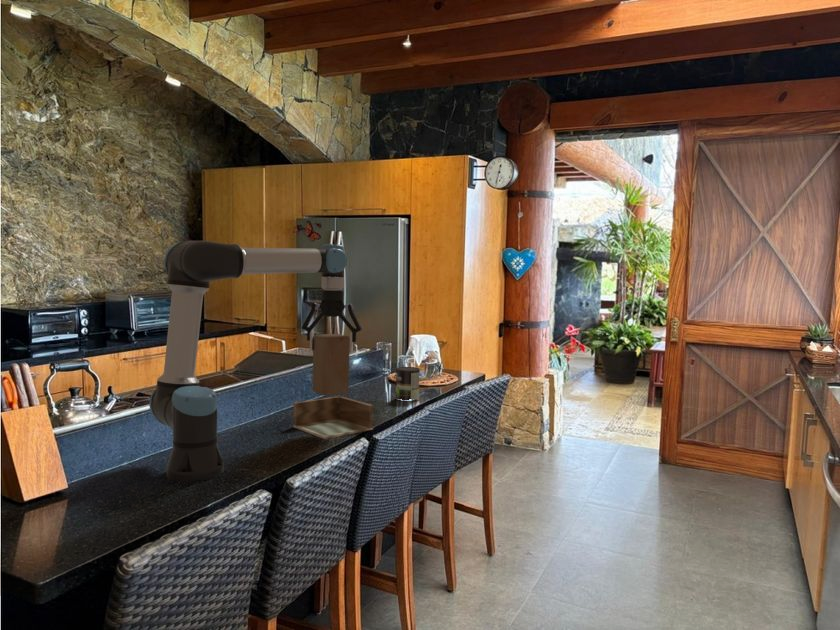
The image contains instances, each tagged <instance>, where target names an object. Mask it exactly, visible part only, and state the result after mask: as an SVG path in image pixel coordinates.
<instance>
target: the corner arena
mask: <svg viewBox="0 0 840 630" xmlns="http://www.w3.org/2000/svg"><path fill="white" fill-rule="evenodd" d="M293 428H295V429H297V430H300V431H302V432H305V433H307V434H310V435H313V436H315V437H318V438H320V439H323V440H330V439H333V438H338V437H343V436H349V435H353V434H358V433H363V432H367V431H372V430H374V405H373V404H372V403H371V404H370V403H367V402H363V401H359V400H356V399H353V398H350V397H346V396H343V395H342V396H341V395H335V396H330V397H323V398H318V399H309V400H301V401H297V402H293Z"/></svg>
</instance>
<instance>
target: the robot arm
mask: <svg viewBox="0 0 840 630" xmlns="http://www.w3.org/2000/svg"><path fill="white" fill-rule="evenodd" d="M344 247H345V246H344V245H342V244H333V243H325V244H323V245H322V247H321V248H313V247H312V248H305V247H304V248H303V247H300V248H299V247H297V248H296V247H291V248H289V247H288V248H287V247H285V248H284V247H282V248H281V247H242V246H241V245H240V244H237V243H235V244H233V243H222V242H216V241H215V242H214V241H210V240H182V241H180V242H177V243H174V244H173V245H172V246H170V247H169V248H168V250H166V253H165V254H164V260H163V265H164V270H165V271H166V274H167V283H166V285H167V287H168V288H169V289H170V291H171V300H170V310H169V317H168V318H169V319H168V327H167V328H168V329H167V338H166V340H167V341H166V346H165V355H164V356H165V358H164V365H163V366H164V367H163V373H162V374H161V375H160V376H159V377H157V380H156V388H155V389H154V390H153V392H151V395H150V397H149V400H148V401H149V402H148V404H149V409H150V412H151V415H152V416H153V418H155V419H156V420H157V421H158V422H159V423H160V424H163V426H164V425H165V426H168V427H170V428H172V448H171V452H170V455H169V457H168V461H167V464H166V467H165V468H166V469H165V470H166V471H165V472H166V473H165V474H166V478H168V480H171V481H174V482H175V481H176V482H182V481H183V483H184V482H189V481H192V482H200V481H206V479H207V480H210V479H214V478H216V476H217V477H218V475H219V476H221V475H222V474H223V473H224V471H225V462H224V460H223V457H222V454H221V451H220V448H219V445H218V407H219V405H218V404H219V403H218V397H217V392H216V391H215V390H213V389H212V388H210V387H206V386H200V379H198V378H197V376H196V367H197V356H198V350H199V349H198V347H199V337H200V328H201V321H202V320H201V319H202V311H203V309H202V308H203V300H204V299H203V298H204V295H205V293H206V292H208V291H209V290H210V286H211V282H213V281H220V280H226V279H239V278H241V277H242V276H243V275H261V274H262V275H265V274H266V275H267V274H268V275H269V274H272V275H273V274H275V275H276V274H303V273H304V274H308V273H309V274H311V273H313V274H314V273H318V274H319V273H320V274H321V289H322V290H321V296H320V297H321V299H320V301H321V302H320V303H317V302H312V304H311V309H310V311H309V313H308V315H307V317H306V319H305V321H304V322H303V324H302V326H301V329H302V330H304V331H306V340H307V341H309V351H310V352H313V337H314V335H315V331H313V329H314V328H315V327H316V326H317V325H318V324H319V323H320V321H321V320H322V319H323V318H324V317H325V316H326V318H327V317H329V318H330V317H332V318H337V317H339V318H340V319H341V321H342V322H343V323H344V324H345V326H346V327H348V329H349V330H350V331H351V332H350V333H349V338H350V352H349V353H352V352H354V343H356V342H357V333H358V332H360V331H362V330H363V329H362V326H361V324H360V321H359V320H358V318H357V316H356V313H355V312H354V307H353V304H352V303H349V304H345V303H344V289H345V288H344V286H345V285H344V284H345V279H344V278H345V269H346V266H347V263H348V257H347V254H346V252H345V248H344ZM319 308H320V310H321V312H320V314H319V315H318V316H317V317H316V318H315V319H314V321H312V319H313V317H314V315H315V313H316V311H317V310H318V309H319ZM345 309H346V311H347V312H348V314H349V316H350V318H351V320H352V322H353V324H354V325H353V324H352V323H351V321H350V320H349V319H348V318H347V316H346V315H345V314H344V312H343V311H344V310H345ZM311 321H312V323H311ZM310 323H311V324H310ZM309 324H310V325H309ZM221 473H222V474H221ZM220 474H221V475H220ZM199 480H200V481H199Z"/></svg>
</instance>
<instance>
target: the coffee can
mask: <svg viewBox="0 0 840 630" xmlns="http://www.w3.org/2000/svg"><path fill="white" fill-rule="evenodd" d="M395 371H396V372H395V399H396V398H397V399H402V400H409V399H418V398H420V371H421V369H420V368H419V367H416V366H400V367H399V366H398V367H396V368H395Z"/></svg>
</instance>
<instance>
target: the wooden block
mask: <svg viewBox="0 0 840 630" xmlns="http://www.w3.org/2000/svg"><path fill="white" fill-rule="evenodd" d="M350 353H351V352H350V336H348V335H344V334H340V333H324V334H323V333H321V334H320V333H319V334H317V333H316V334H314V337H313V350H312V391H313V392H314V393H317V394H319V395H321V396H323V397H325V396H341V395H348V394H349V391H350V388H349V387H350Z"/></svg>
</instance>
